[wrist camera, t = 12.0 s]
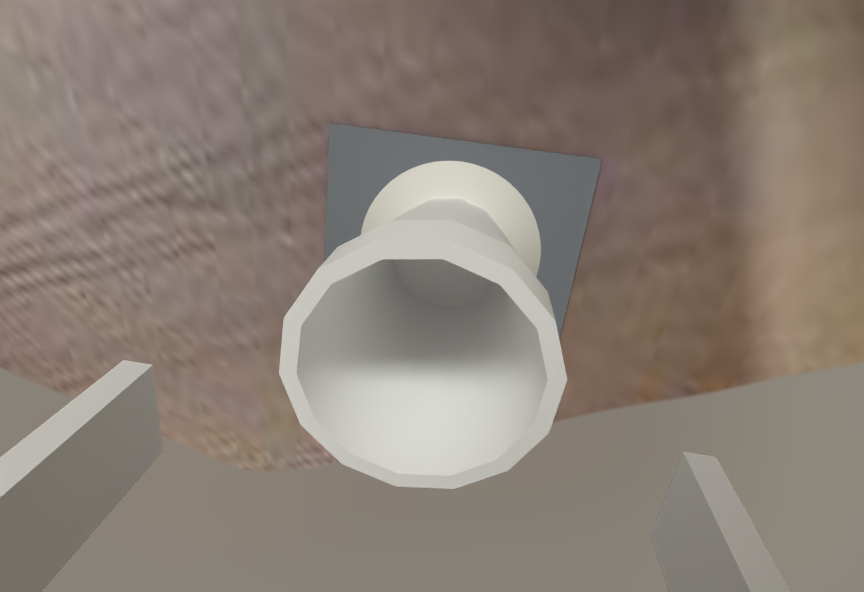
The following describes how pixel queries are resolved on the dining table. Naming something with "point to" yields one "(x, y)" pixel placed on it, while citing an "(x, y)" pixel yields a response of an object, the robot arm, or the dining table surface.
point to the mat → (465, 194)
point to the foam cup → (425, 350)
